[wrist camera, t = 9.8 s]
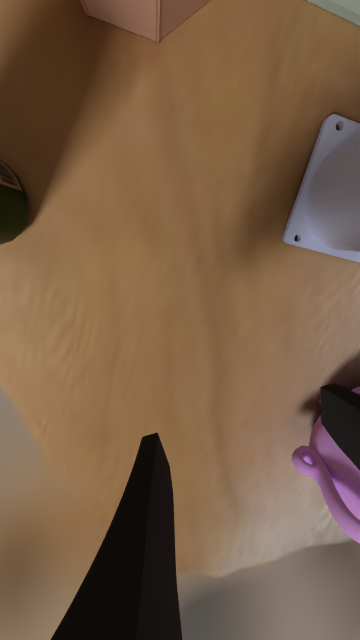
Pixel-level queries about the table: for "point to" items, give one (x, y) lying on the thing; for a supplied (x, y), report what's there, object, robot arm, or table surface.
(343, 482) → the teapot
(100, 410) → the table surface
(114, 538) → the robot arm
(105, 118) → the table surface
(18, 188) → the beer can
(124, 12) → the bowl
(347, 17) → the mat
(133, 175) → the table surface
